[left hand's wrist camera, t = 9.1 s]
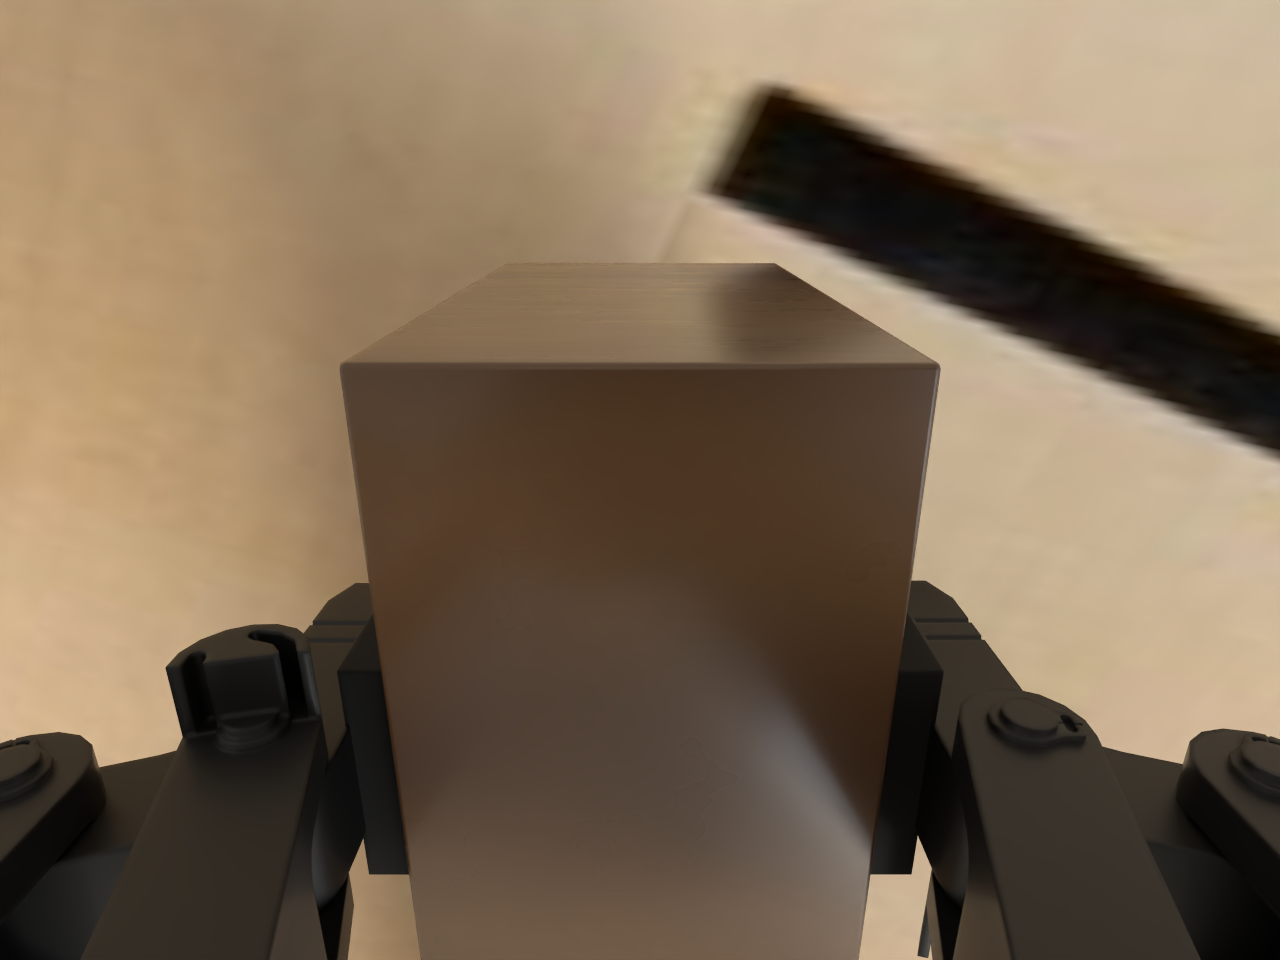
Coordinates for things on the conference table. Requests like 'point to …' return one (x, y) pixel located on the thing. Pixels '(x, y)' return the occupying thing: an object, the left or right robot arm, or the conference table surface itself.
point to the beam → (639, 605)
